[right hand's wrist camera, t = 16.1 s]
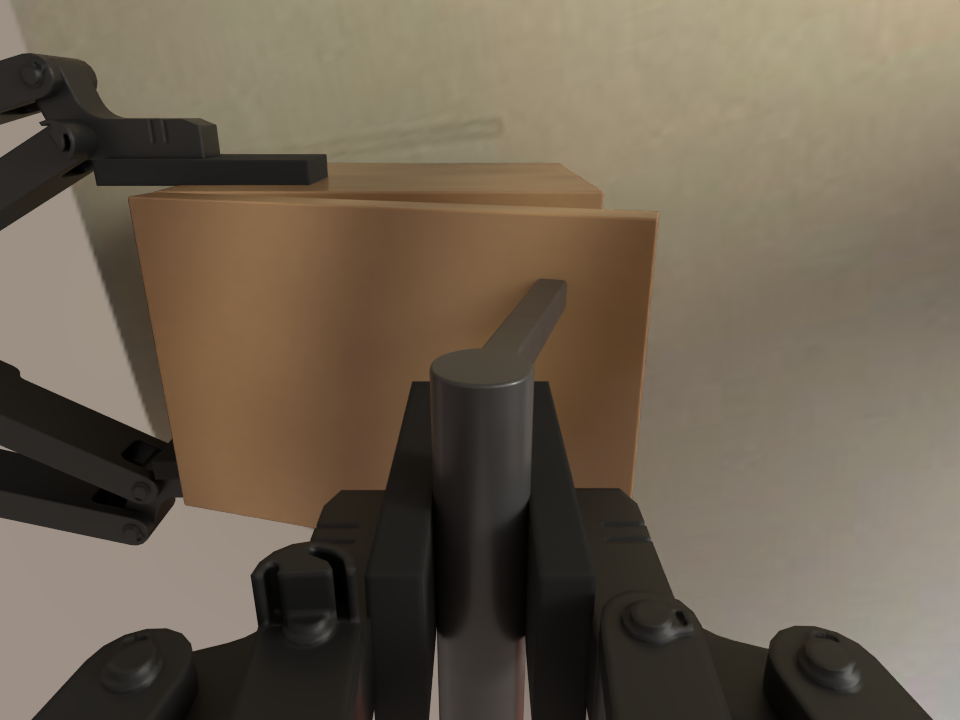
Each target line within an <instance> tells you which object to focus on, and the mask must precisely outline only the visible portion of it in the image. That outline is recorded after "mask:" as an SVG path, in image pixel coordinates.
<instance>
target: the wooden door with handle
mask: <svg viewBox="0 0 960 720" xmlns="http://www.w3.org/2000/svg"><path fill="white" fill-rule="evenodd" d="M128 201H129V207H130V212H131V218H132V223H133V228H134V234H135V239H136V245H137V250H138V255H139V261H140V266H141V272H142V277H143V282H144V288H145V293H146V299H147V304H148V309H149V315H150V320H151V326H152V331H153V336H154V342H155V347H156V353H157V358H158V363H159V369H160V374H161V379H162V385H163V390H164V396H165V401H166V406H167V412H168V417H169V423H170V428H171V433H172V439H173V444H174V450H175V455H176V460H177V466H178V471H179V477H180V482H181V487H182V493H183V498H184V503H185V505H188V506H193V507H199V508H204V509H210V510H216V511H221V512H227V513H233V514H238V515H244V516H249V517H255V518H261V519H267V520H272V521H277V522H283V523H289V524H294V525H300V526H305V527H311V528H316V524H317V522H318V519H319V517H320V514H321V511H322V509H323V506H324V505H325V504H326V503H327V502H329V501H330V500H331V499H332V498H333V497H334V496H335V495H336V494H337V493H338V492H340V491H341V490H385V489H386V485H387V481H388V477H389V473H390V469H391V465H392V461H393V457H394V453H395V449H396V445H397V441H398V437H399V433H400V429H401V425H402V421H403V417H404V412H405V408H406V404H407V400H408V396H409V392H410V388H411V384H412V381H430V409H431V443H432V478H433V512H434V547H435V581H436V616H437V649H438V685H439V718H440V720H523V712H524V681H525V649H526V645H525V610H526V578H527V545H528V513H529V497H530V493H531V461H532V430H533V399H534V381H549V385H550V390H551V394H552V398H553V402H554V406H555V410H556V414H557V418H558V422H559V426H560V430H561V434H562V438H563V442H564V446H565V450H566V454H567V458H568V462H569V466H570V470H571V474H572V478H573V482H574V487H575V488H620V489H621V490H622V491H623V492H625V493H626V494H627V495H628V496H629V497H630V498H631V499H632V496H633V486H634V475H635V465H636V454H637V444H638V434H639V423H640V413H641V402H642V392H643V381H644V371H645V361H646V350H647V340H648V329H649V319H650V308H651V298H652V287H653V277H654V267H655V256H656V246H657V235H658V225H659V212H657V211H635V210H609V209H583V208H557V207H531V206H505V205H479V204H453V203H427V202H401V201H375V200H349V199H323V198H297V197H271V196H245V195H219V194H193V193H167V192H155V193H149V194H142V195H136V196H130V197H128Z"/></svg>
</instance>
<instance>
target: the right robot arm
mask: <svg viewBox="0 0 960 720" xmlns="http://www.w3.org/2000/svg"><path fill="white" fill-rule="evenodd" d="M251 581H252V588H253V594H254V601H255V607H256V614H257V621H258V630H257V632H255V633H253V634H251V635H249V636H247V637H245V638H242V639H239V640H236V641H233V642H229V643H226V644H222V645H218V646H213V647H209V648H205V649H201V650H197V651H193V652H192V647H191V643H190V642H189V641H188V640H187V639H186V638H185V636H184V635H183V634H182V633H179V632H176V631H173V630H170V629H167V628H164V629H145V630H141V631H137V632H134V633H130V634H126V635H124V636H122V637H120V638H118V639H116V640H114V641H112V642H110V643H108V644H106V645H104V646H103V647H102V648H101V649H99V650H98V651H97V652H96V653H95V654H93V655H92V656H91V657H90V658H89V659H87V660H86V661H85V662H84V663H83V664H82V665H81V667H80V668H79V669H78V670H77V671H76V672H75V673H74V674H73V675H72V676H71V677H70V678H69V680H68V681H67V682H66V683H65V684H64V685H63V686H62V687H61V688H60V689H59V690H58V692H57V693H56V694H55V695H54V696H53V697H52V698H51V699H50V700H49V701H48V702H47V703H46V705H45V706H44V707H43V708H42V709H41V710H40V711H39V712H38V713H37V714H36V716H34V718H33V719H32V720H372V719H373V713H375V720H429V713H430V701H431V689H432V677H433V665H434V653H435V641H436V629H437V616H436V581H435V547H434V512H433V478H432V443H431V409H430V381H412V384H411V388H410V392H409V396H408V400H407V404H406V408H405V412H404V417H403V421H402V425H401V429H400V433H399V437H398V441H397V445H396V449H395V453H394V457H393V461H392V465H391V469H390V473H389V477H388V481H387V485H386V489H385V490H341V491H340V492H338V493H337V494H336V495H335V496H334V497H333V498H332V499H331V500H330V501H329V502H327V503H326V504H325V505H324V506H323V509H322V511H321V514H320V517H319V519H318V522H317V524H316V528H315V529H314V532H313V534H312V537H311V540H310V542H304V543H297V544H292V545H289V546H287V547H284V548H282V549H279V550H277V551H274V552H273V553H271V554H270V555H269V556H267V557H266V558H265V559H263V560H262V561H261V562H259V564H258V565H257V567H256V568H255V570H254V571H253V573H252V574H251ZM525 645H526V657H527V669H528V681H529V693H530V705H531V717H532V720H586V708H587V712H588V718H589V720H933V719H932V718H931V717H930V716H929V715H928V714H927V713H926V712H925V711H924V710H923V709H922V707H921V706H920V705H919V704H918V703H917V702H916V701H915V700H914V699H913V698H912V697H911V696H910V694H909V693H908V692H907V691H906V690H905V689H904V688H903V687H902V686H901V685H900V684H899V683H898V682H897V680H896V679H895V678H894V677H893V676H892V675H891V674H890V673H889V672H888V671H887V670H886V669H885V668H884V666H883V665H882V664H881V663H880V662H879V661H878V660H877V659H876V658H875V657H874V656H873V655H871V654H870V653H869V652H868V651H867V650H865V649H864V648H863V647H862V646H861V645H859V644H858V643H856V642H854V641H852V640H851V639H849V638H847V637H845V636H843V635H841V634H839V633H837V632H834V631H830V630H826V629H823V628H819V627H815V626H793V627H790V628H787V629H784V630H781V631H779V632H778V633H777V634H776V635H775V636H774V637H773V639H772V640H771V641H770V645H769V649H766V648H762V647H758V646H754V645H750V644H746V643H741V642H737V641H733V640H730V639H727V638H724V637H721V636H718V635H715V634H713V633H711V632H709V631H707V630H705V629H703V628H702V626H701V624H700V622H699V621H698V619H697V617H696V616H695V614H694V612H693V611H692V610H690V609H689V608H688V607H687V606H685V605H684V604H683V603H682V602H681V601H679V600H677V599H675V598H674V596H673V593H672V591H671V588H670V586H669V583H668V581H667V578H666V576H665V573H664V570H663V568H662V565H661V563H660V560H659V558H658V555H657V553H656V550H655V548H654V545H653V543H652V541H651V540H650V535H649V532H648V530H647V527H646V526H645V524H644V520H643V517H642V515H641V512H640V510H639V507H638V505H637V503H636V502H635V501H633V500H632V499H631V498H630V497H629V496H628V495H627V494H626V493H625V492H623V491H622V490H621V489H620V488H575V487H574V482H573V478H572V474H571V470H570V466H569V462H568V458H567V454H566V450H565V446H564V442H563V438H562V434H561V430H560V426H559V422H558V418H557V414H556V410H555V406H554V402H553V398H552V394H551V390H550V385H549V381H534V399H533V430H532V461H531V493H530V497H529V513H528V545H527V578H526V610H525Z"/></svg>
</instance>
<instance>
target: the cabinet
mask: <svg viewBox="0 0 960 720" xmlns="http://www.w3.org/2000/svg"><path fill="white" fill-rule="evenodd" d="M327 169H328V177H326V178H324V179H322V180H320V181H318V182H316V183H313V184H311V185H178V186H174V187H170V188H167V189H163V190H159V191H156V192H167V193H193V194H219V195H245V196H271V197H297V198H323V199H349V200H375V201H401V202H427V203H453V204H479V205H505V206H531V207H557V208H583V209H603V201H604V192H603V191H601V190H600V189H598V188H597V187H595V186H594V185H592V184H591V183H589V182H587V181H586V180H584V179H583V178H581V177H580V176H578V175H577V174H575V173H573V172H572V171H570V170H569V169H567V168H566V167H564V166H563V165H561V164H559V163H518V164H327ZM154 193H155V192H154Z"/></svg>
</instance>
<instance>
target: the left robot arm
mask: <svg viewBox="0 0 960 720" xmlns="http://www.w3.org/2000/svg"><path fill="white" fill-rule="evenodd" d="M96 89H97V78H96V74H95V72H94V71H93V69H92V68H91V67H90V66H89V65H88V64H87V63H86V62H84V61H81V60H78V59H73V58H65V57H56V56H48V55H40V54H32V53H27V54H20V55H17V56H14V57H10V58H7V59H4V60H1V61H0V124H4V123H7V122H10V121H14V120H17V119H20V118H24V117H27V116H30V115H33V114H37V113H40V112H42V114H43V116H44V118H45V119H46V120H44V121H42V122H39V123H40V124H41V126H48V127H46V128H45V129H43V130H42V131H40V132H39V133H37V134H36V135H34V136H32V137H31V138H29V139H28V140H26V141H25V142H24V143H22V144H20V145H19V146H17V147H16V148H14V149H13V150H11V151H10V152H8V153H7V154H5V155H4V156H2V157H1V158H0V231H1V230H2V229H4V228H5V227H7V226H8V225H10V224H12V223H13V222H15V221H16V220H18V219H19V218H21V217H22V216H24V215H26V214H27V213H29V212H30V211H32V210H34V209H35V208H37V207H38V206H40V205H41V204H43V203H44V202H46V201H48V200H49V199H51V198H52V197H54V196H55V195H57V194H58V193H60V192H62V191H63V190H65V189H66V188H68V187H70V186H71V185H73V184H74V183H76V182H77V181H79V180H80V179H82V178H84V177H85V176H87V175H88V174H90V173H91V172H93V171H94V174H95V179H96V184H97V186H178V185H311V184H313V183H316V182H318V181H320V180H322V179H324V178H326V177H328V169H327V157H326V154H220V149H219V142H218V134H217V127H216V125H215V124H213V123H210V122H208V121H205V120H203V119H200V118H122V117H119V116H117V115H115V114H113V113H112V112H110V111H109V110H108V109H107V108H106V107H105V105H104V104H103V102H102V100H101V99H100V97H99V95H98V93H97V91H96ZM0 445H1V446H3V447H5V448H8V449H10V450H13V451H15V452H11V451H7V450H2V449H0V518H5V519H10V520H15V521H19V522H24V523H29V524H34V525H38V526H43V527H48V528H53V529H57V530H62V531H67V532H72V533H76V534H81V535H86V536H91V537H95V538H100V539H105V540H110V541H114V542H119V543H124V544H129V545H140V544H143V543H144V542H145V541H146V540H147V539H148V538H149V537H150V535H151V534H152V532H153V531H154V530H155V528H156V527H157V526H158V525H159V523H160V522H161V521H162V519H163V518H164V517H165V515H166V514H167V513H168V511H169V510H170V509H171V507H172V506H173V505H174V502H175V498H176V497H183V493H182V487H181V482H180V477H179V471H178V466H177V460H176V455H175V450H174V444H173V439H172V440H171V441H170V442H169V443H166V442H164V441H161V440H159V439H157V438H155V437H152V436H150V435H148V434H146V433H143V432H141V431H139V430H137V429H134V428H132V427H130V426H128V425H125V424H123V423H121V422H119V421H116V420H114V419H112V418H110V417H107V416H105V415H103V414H101V413H98V412H96V411H94V410H92V409H89V408H87V407H85V406H83V405H80V404H78V403H76V402H74V401H71V400H69V399H67V398H65V397H62V396H60V395H58V394H56V393H53V392H51V391H49V390H47V389H44V388H42V387H40V386H38V385H35V384H33V383H31V382H29V381H26V380H24V379H22V378H21V377H20V371H19V370H18V369H17V368H16V367H14V366H12V365H10V364H8V363H5V362H3V361H1V360H0ZM16 452H17V453H16Z"/></svg>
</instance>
